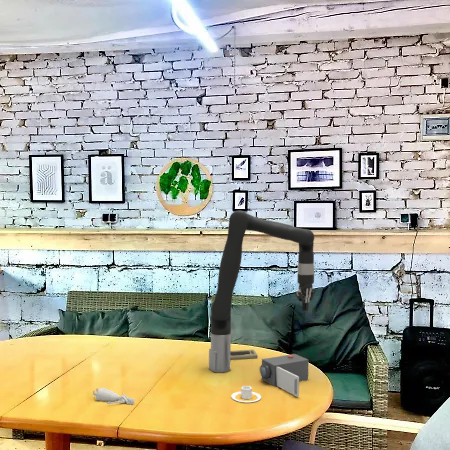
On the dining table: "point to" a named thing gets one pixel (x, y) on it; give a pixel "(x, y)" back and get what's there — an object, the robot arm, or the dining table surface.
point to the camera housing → (284, 367)
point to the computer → (243, 354)
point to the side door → (287, 381)
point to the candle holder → (246, 394)
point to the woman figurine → (112, 396)
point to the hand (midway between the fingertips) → (305, 310)
